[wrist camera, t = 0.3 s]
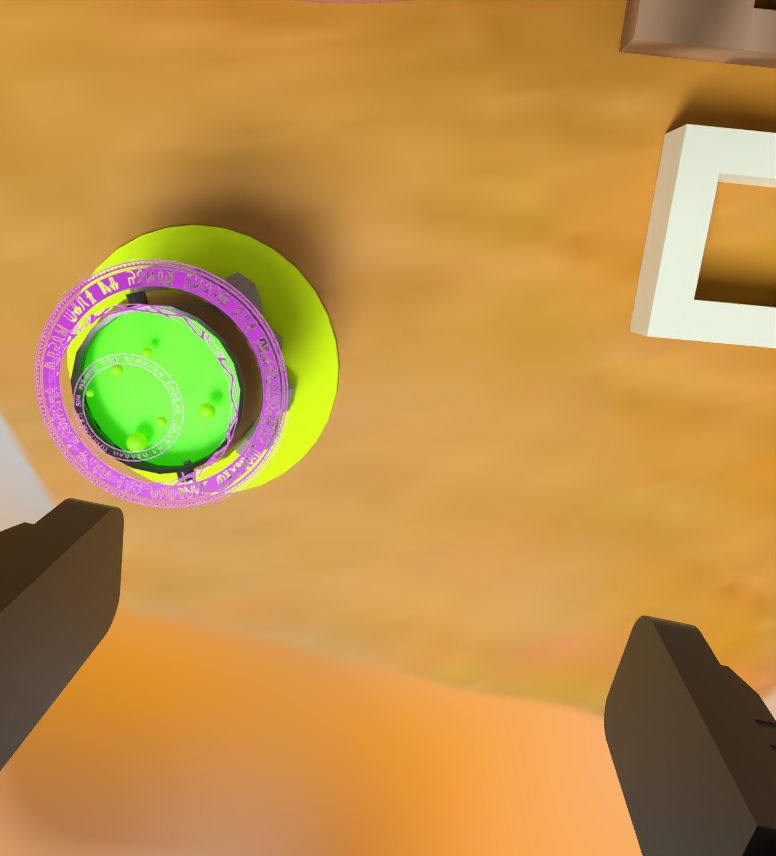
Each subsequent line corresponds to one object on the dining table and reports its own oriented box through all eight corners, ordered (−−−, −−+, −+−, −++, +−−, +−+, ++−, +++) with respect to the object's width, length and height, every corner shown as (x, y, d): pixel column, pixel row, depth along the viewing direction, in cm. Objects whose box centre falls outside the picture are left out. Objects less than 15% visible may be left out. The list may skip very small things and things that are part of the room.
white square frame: (665, 133, 33) (686, 124, 31) (857, 153, 34) (894, 145, 31) (629, 331, 36) (646, 335, 33) (809, 347, 36) (839, 354, 34)
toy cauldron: (363, 468, 38) (354, 548, 27) (113, 513, 39) (8, 610, 28) (307, 199, 34) (270, 170, 24) (32, 254, 35) (-125, 251, 24)
